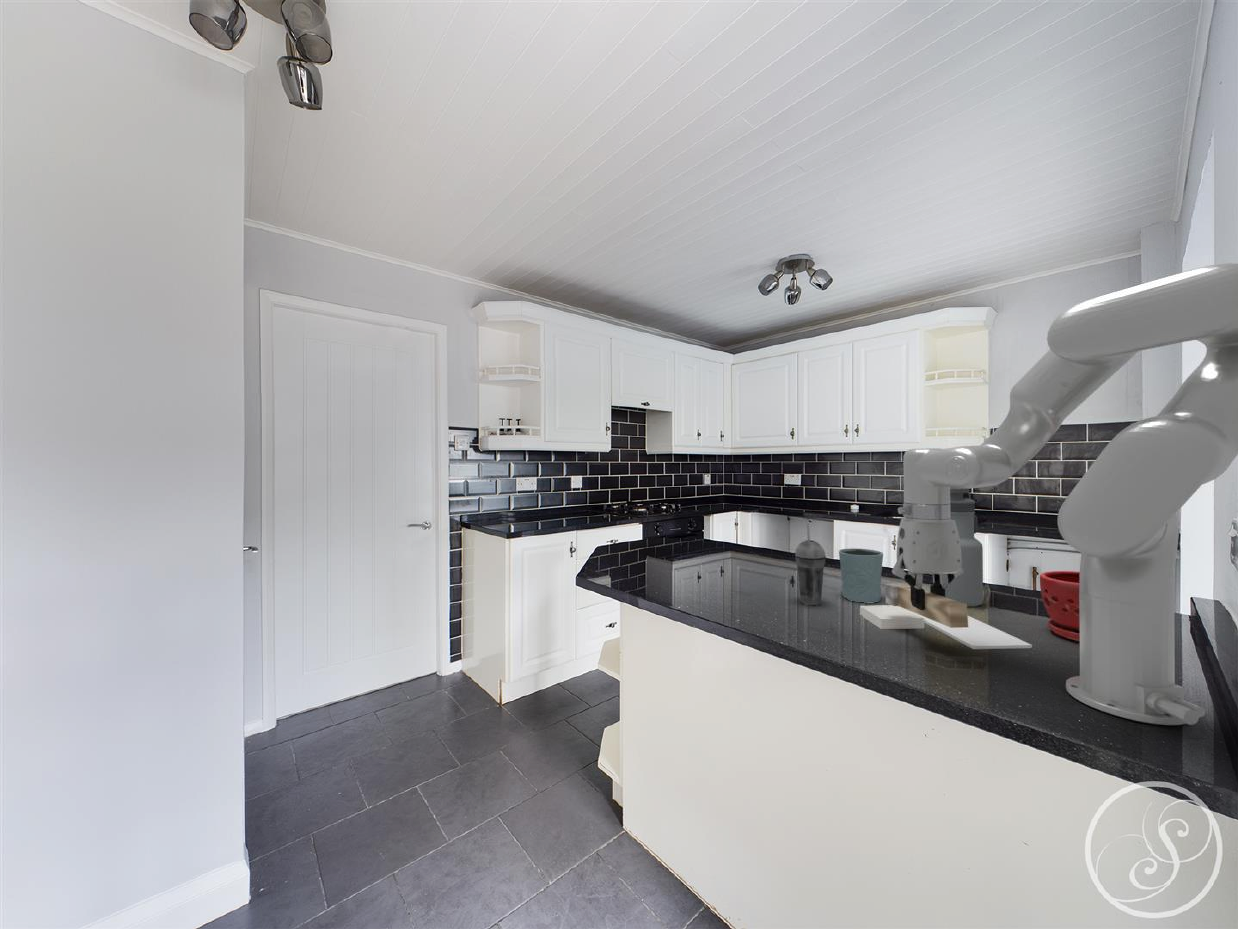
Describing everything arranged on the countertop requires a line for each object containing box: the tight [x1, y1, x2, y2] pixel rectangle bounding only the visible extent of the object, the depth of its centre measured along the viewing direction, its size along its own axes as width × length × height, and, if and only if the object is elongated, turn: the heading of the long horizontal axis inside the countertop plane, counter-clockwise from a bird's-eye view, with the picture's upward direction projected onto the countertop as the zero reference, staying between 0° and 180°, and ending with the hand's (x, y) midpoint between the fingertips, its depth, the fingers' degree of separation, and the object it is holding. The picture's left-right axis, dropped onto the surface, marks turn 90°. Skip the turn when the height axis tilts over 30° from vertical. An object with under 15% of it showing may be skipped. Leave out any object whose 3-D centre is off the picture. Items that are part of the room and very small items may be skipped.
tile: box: [859, 604, 925, 630], centre depth 106 cm, size 3×9×9 cm
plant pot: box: [1039, 570, 1080, 643], centre depth 95 cm, size 13×13×12 cm
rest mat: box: [913, 612, 1033, 650], centre depth 102 cm, size 24×11×1 cm, turn 0°
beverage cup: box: [794, 522, 827, 606], centre depth 120 cm, size 7×7×20 cm
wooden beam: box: [884, 583, 969, 628], centre depth 94 cm, size 19×5×4 cm, turn 0°
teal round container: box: [838, 547, 884, 602], centre depth 123 cm, size 10×10×12 cm
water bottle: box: [945, 487, 984, 608], centre depth 119 cm, size 10×10×28 cm
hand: (927, 607), depth 93 cm, fingers closed on wooden beam, 3 cm apart
